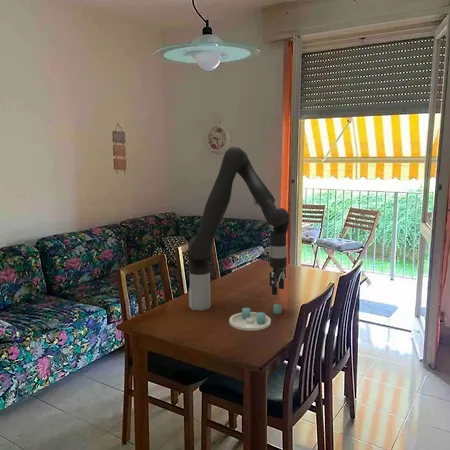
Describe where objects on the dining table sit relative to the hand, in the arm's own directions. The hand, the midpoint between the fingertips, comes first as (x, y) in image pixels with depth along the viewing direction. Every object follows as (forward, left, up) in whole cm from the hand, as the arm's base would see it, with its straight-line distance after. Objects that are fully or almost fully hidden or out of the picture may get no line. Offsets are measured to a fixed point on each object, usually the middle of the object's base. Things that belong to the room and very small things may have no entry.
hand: (278, 291), depth 185 cm
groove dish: (-15, -6, -10) cm, 19 cm away
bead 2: (-11, -9, -9) cm, 17 cm away
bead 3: (0, 0, -10) cm, 10 cm away
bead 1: (-15, -2, -9) cm, 18 cm away
